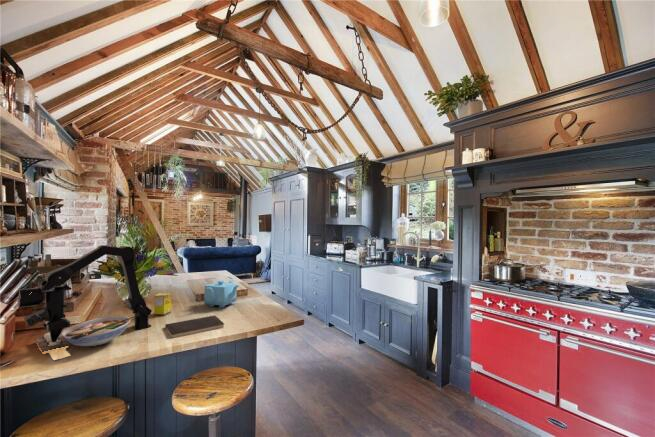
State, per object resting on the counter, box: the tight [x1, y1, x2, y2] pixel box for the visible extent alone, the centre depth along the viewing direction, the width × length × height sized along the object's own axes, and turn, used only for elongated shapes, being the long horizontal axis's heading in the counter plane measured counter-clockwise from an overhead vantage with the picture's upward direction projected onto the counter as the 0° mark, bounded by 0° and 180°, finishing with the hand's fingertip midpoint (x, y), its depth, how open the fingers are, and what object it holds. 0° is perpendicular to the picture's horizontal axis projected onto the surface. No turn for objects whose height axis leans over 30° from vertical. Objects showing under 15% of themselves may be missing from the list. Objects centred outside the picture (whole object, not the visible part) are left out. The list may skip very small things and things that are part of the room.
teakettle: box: [203, 279, 241, 309], centre depth 179 cm, size 19×19×15 cm
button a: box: [49, 340, 61, 346], centre depth 118 cm, size 3×3×2 cm
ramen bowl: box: [61, 315, 136, 347], centre depth 123 cm, size 25×23×8 cm
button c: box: [43, 332, 50, 340], centre depth 124 cm, size 3×3×2 cm
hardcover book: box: [164, 315, 225, 339], centre depth 142 cm, size 16×23×2 cm
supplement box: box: [153, 292, 172, 317], centre depth 162 cm, size 6×6×11 cm
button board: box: [34, 332, 71, 352], centre depth 121 cm, size 17×8×2 cm, turn 52°
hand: (53, 341), depth 117 cm, fingers closed, pressing on button a
